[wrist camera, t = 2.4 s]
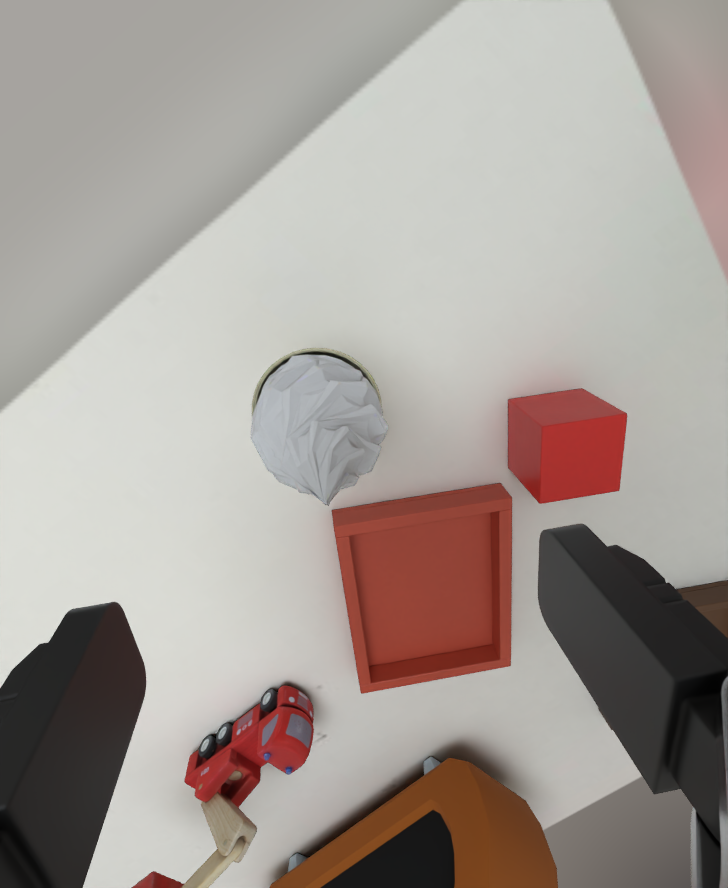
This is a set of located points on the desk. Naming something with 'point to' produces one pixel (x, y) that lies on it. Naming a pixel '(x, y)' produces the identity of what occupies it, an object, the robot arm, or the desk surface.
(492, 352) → the desk surface
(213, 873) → the toy fire truck
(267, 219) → the desk surface
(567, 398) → the red block
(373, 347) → the desk surface
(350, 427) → the ice cream cone
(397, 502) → the red tray
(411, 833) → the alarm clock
